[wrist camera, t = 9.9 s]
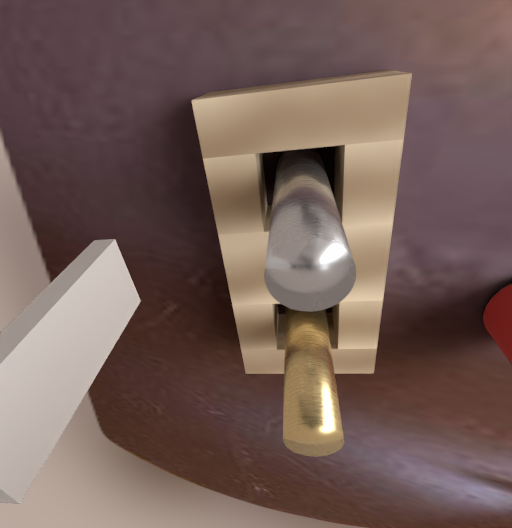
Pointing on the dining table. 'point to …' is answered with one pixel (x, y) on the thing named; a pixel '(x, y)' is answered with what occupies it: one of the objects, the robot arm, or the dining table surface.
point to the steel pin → (306, 237)
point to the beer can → (500, 319)
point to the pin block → (345, 194)
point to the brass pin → (310, 386)
